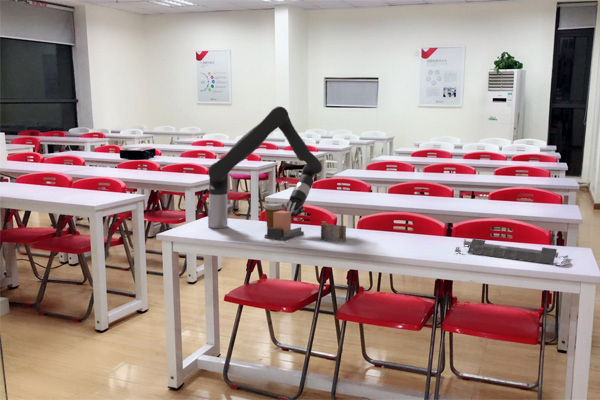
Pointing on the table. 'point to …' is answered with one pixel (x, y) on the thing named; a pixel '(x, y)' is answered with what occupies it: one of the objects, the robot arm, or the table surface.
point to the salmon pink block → (282, 220)
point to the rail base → (283, 233)
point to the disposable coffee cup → (271, 212)
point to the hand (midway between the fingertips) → (286, 221)
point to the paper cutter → (512, 252)
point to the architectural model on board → (333, 232)
